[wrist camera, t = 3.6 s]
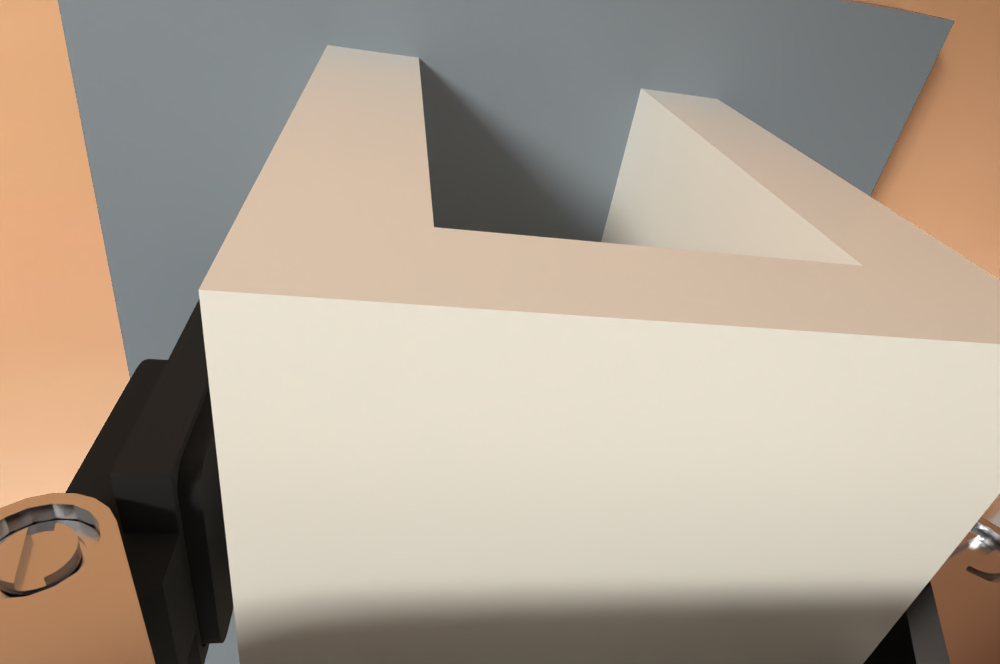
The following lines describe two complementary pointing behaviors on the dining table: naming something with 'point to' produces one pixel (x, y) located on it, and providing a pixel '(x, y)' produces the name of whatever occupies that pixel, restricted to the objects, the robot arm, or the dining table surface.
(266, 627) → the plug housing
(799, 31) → the header board
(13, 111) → the dining table surface
